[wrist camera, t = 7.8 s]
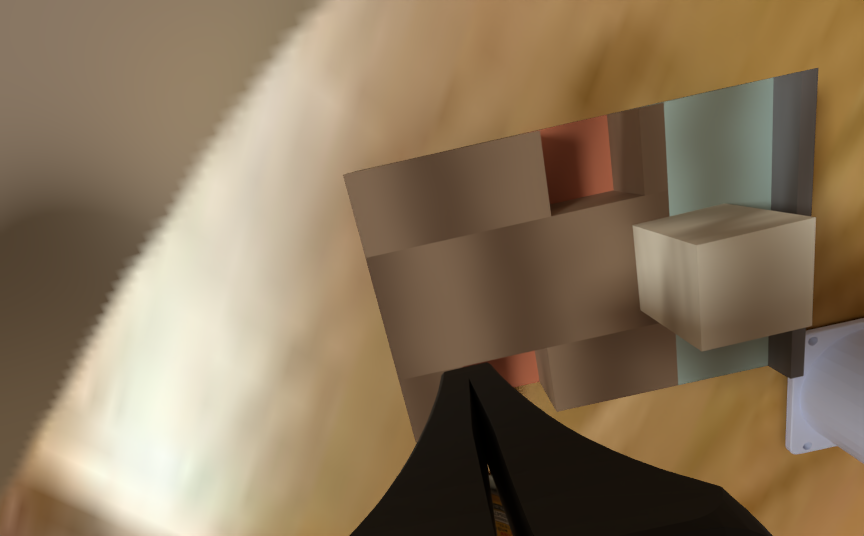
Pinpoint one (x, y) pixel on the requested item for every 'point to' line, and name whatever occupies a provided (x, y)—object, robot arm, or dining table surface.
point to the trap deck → (574, 242)
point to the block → (727, 273)
